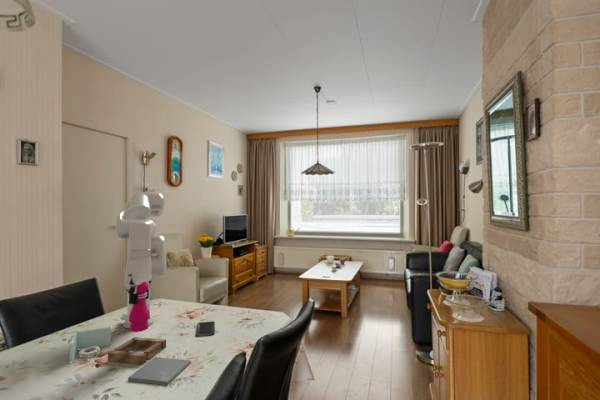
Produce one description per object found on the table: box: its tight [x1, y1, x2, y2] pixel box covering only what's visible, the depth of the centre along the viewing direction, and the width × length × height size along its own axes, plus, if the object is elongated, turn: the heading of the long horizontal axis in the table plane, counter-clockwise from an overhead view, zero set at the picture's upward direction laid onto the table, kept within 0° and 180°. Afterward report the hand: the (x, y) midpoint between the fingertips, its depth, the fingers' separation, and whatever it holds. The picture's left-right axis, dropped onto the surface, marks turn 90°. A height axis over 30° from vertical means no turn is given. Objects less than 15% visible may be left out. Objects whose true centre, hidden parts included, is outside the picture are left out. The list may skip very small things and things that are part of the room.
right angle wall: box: [69, 326, 112, 363], centre depth 121 cm, size 12×12×8 cm
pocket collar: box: [107, 336, 167, 366], centre depth 120 cm, size 14×14×3 cm
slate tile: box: [127, 356, 192, 386], centre depth 108 cm, size 14×14×1 cm
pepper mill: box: [129, 282, 151, 333], centre depth 121 cm, size 7×7×20 cm
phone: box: [195, 320, 216, 338], centre depth 145 cm, size 8×1×15 cm
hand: (139, 300), depth 121 cm, fingers closed on pepper mill, 5 cm apart
